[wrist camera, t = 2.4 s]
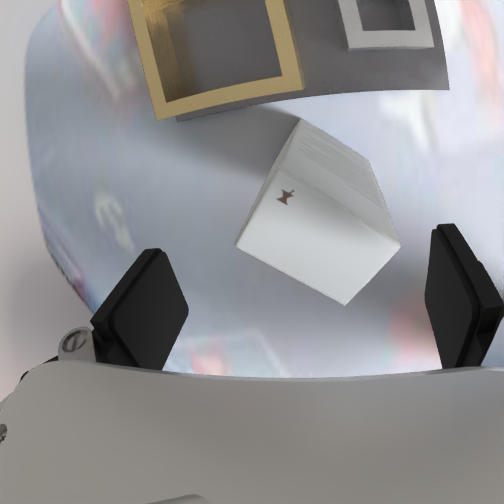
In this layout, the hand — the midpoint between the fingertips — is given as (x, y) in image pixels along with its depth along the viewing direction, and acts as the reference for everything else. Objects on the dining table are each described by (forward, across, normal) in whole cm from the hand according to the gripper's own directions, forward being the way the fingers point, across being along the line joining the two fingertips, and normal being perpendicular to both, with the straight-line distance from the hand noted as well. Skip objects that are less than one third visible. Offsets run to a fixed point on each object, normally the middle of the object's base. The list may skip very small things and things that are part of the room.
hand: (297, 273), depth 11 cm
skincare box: (+15, -1, +1) cm, 15 cm away
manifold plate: (+15, -1, -10) cm, 18 cm away
